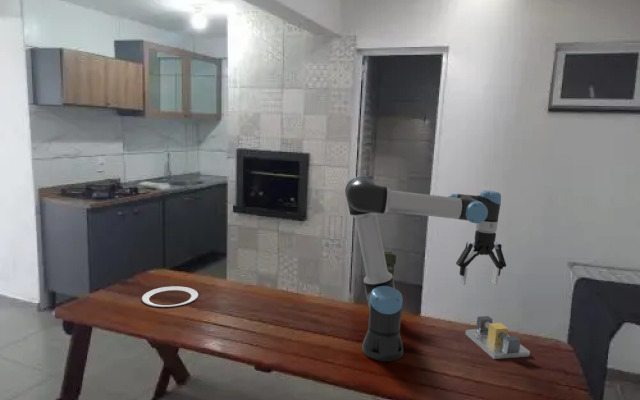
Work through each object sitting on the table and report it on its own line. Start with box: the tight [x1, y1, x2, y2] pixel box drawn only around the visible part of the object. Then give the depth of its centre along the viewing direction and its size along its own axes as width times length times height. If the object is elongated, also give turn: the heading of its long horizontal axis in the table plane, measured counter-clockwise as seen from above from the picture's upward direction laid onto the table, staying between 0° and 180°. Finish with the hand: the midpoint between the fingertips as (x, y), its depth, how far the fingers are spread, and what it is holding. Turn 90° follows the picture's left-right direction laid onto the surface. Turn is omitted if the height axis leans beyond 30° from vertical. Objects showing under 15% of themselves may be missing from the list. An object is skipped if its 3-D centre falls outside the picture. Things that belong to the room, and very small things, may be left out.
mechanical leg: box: [384, 251, 397, 277], centre depth 199 cm, size 14×7×30 cm, turn 169°
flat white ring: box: [141, 285, 199, 308], centre depth 211 cm, size 25×25×1 cm
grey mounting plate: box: [465, 315, 531, 360], centre depth 178 cm, size 21×15×7 cm
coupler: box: [488, 322, 509, 344], centre depth 178 cm, size 9×5×6 cm, turn 12°
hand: (478, 283), depth 178 cm, fingers open, 13 cm apart
